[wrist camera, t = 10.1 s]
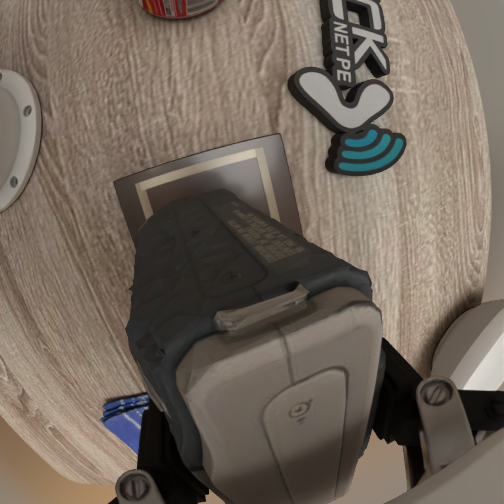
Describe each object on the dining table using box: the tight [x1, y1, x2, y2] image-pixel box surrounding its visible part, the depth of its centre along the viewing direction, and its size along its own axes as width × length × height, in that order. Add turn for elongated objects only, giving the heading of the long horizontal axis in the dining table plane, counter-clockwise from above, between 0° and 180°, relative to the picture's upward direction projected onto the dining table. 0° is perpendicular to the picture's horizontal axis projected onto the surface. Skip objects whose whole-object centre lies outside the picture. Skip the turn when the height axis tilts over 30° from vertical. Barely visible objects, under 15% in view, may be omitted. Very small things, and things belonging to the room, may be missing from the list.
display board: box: [114, 133, 303, 245], centre depth 21 cm, size 12×16×1 cm
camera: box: [125, 188, 386, 504], centre depth 10 cm, size 11×6×10 cm, turn 10°
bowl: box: [430, 299, 504, 391], centre depth 28 cm, size 19×19×9 cm
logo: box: [288, 0, 406, 176], centre depth 17 cm, size 25×2×10 cm
